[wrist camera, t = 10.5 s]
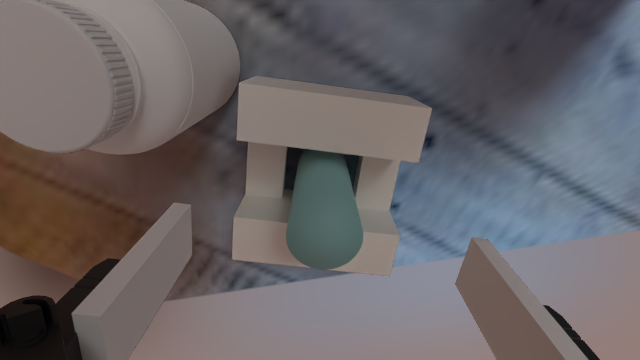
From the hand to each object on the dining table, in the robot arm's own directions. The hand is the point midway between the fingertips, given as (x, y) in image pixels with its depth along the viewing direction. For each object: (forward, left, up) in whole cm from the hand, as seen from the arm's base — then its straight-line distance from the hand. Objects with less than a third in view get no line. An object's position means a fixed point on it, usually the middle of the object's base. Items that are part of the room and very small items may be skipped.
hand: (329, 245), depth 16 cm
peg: (0, 0, -13) cm, 13 cm away
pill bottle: (-6, -11, -14) cm, 19 cm away
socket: (0, 0, -13) cm, 13 cm away
